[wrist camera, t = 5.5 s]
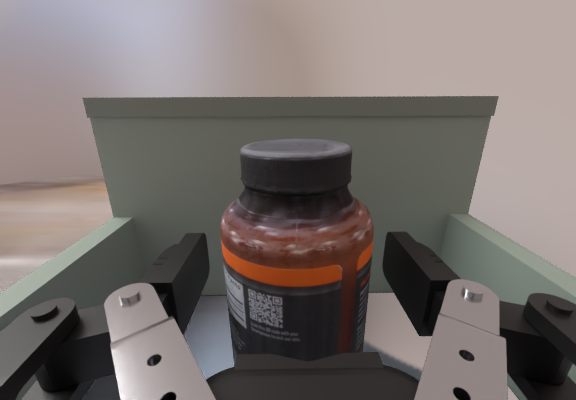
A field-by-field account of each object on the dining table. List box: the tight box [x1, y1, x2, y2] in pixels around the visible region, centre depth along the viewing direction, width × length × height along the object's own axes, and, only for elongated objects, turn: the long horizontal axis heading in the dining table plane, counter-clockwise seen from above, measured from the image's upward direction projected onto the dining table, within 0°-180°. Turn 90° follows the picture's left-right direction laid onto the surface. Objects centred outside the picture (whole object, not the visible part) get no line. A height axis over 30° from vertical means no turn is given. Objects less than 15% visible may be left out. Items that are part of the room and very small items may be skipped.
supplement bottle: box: [220, 139, 374, 367], centre depth 11 cm, size 6×6×11 cm
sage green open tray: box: [0, 96, 576, 400], centre depth 11 cm, size 14×22×13 cm, turn 91°
